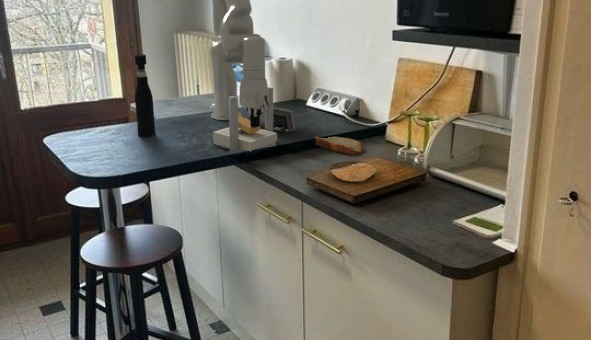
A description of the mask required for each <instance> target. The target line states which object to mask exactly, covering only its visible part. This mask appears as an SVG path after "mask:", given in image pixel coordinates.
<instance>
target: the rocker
mask: <svg viewBox="0 0 591 340" xmlns="http://www.w3.org/2000/svg"><path fill="white" fill-rule="evenodd" d="M238 128H240V129H242V130H243V131H245V132H247V133H249V134H251V133H254V132H257V131H260V129H261V125H260V126H259V127H256V128H253V127H250V119H248V118H247V117H244V116H242V115H241V116H238Z"/></svg>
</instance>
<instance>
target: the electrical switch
mask: <svg viewBox="0 0 591 340" xmlns="http://www.w3.org/2000/svg"><path fill="white" fill-rule="evenodd" d="M293 114H294V113H293V111H292V110H291V109H289V108H282V107H277V106H273V128H275V127H279V128H283V127H284V129H288V131H289V130H291V129H295V130H296V125H295V120H294V115H293Z"/></svg>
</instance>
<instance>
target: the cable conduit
mask: <svg viewBox="0 0 591 340" xmlns="http://www.w3.org/2000/svg"><path fill="white" fill-rule="evenodd" d="M238 98H239V97H238V96H237V97H236V96H230V97H229V120H228V122H229V123H228V124H229V129H230V151H238V150H239V134H238V112H239V101H238V100H239V99H238Z"/></svg>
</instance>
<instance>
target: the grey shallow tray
mask: <svg viewBox="0 0 591 340" xmlns="http://www.w3.org/2000/svg"><path fill="white" fill-rule="evenodd" d="M238 134H239V149H242V150H247V151H250V152H251V151H252V150H254V149H257V148H260V147H263V146H266V145H269V144H271V143H274V142H276V141H277V142H278V133H277V132H275V131H273V132H271V131H267V130H265V129H263V128H260V131H257V132H254V133H251V134H249V133H247V132H245V131H243V130H242V129H240V128H238ZM212 136H213V138H212V140H213V145H214V144H216V145H221V146H226V147H230V129H229V127H225V128H222V129H219V130H216V131H213V132H212Z"/></svg>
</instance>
